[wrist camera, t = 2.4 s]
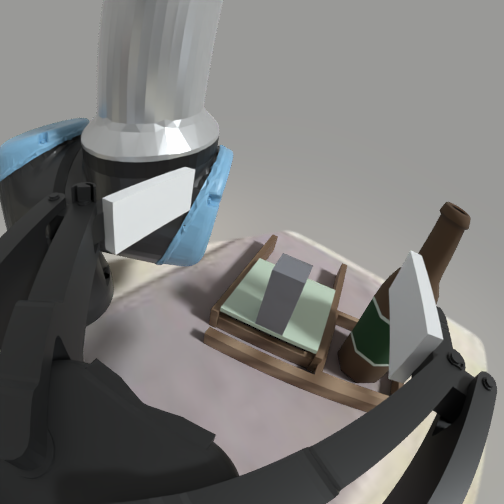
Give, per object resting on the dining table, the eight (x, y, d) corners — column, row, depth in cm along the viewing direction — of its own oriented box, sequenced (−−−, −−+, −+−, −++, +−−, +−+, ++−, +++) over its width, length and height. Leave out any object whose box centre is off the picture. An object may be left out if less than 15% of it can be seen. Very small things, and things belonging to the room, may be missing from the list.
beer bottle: (325, 349, 35) (412, 184, 22) (364, 336, 38) (446, 193, 25) (354, 394, 29) (475, 231, 16) (392, 374, 33) (496, 232, 19)
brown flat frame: (196, 339, 33) (198, 324, 31) (269, 247, 53) (272, 234, 51) (393, 419, 26) (407, 409, 25) (398, 302, 47) (405, 290, 45)
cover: (219, 310, 33) (231, 252, 28) (258, 261, 43) (272, 211, 38) (315, 354, 30) (347, 301, 25) (334, 293, 40) (357, 245, 35)
